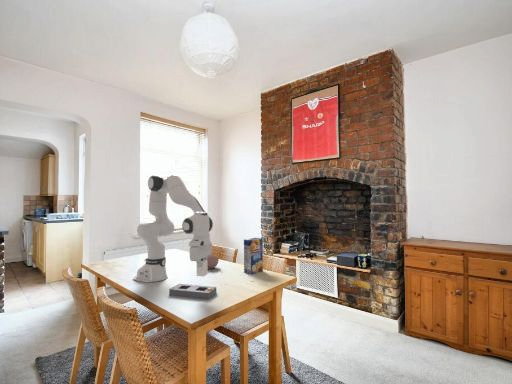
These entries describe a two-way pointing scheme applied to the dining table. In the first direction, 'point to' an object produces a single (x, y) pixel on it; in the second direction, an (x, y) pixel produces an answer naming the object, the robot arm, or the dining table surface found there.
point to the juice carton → (253, 255)
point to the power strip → (192, 291)
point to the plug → (202, 268)
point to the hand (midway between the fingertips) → (201, 265)
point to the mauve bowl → (212, 261)
